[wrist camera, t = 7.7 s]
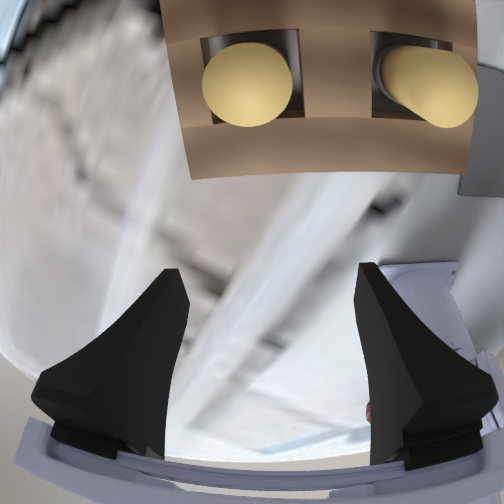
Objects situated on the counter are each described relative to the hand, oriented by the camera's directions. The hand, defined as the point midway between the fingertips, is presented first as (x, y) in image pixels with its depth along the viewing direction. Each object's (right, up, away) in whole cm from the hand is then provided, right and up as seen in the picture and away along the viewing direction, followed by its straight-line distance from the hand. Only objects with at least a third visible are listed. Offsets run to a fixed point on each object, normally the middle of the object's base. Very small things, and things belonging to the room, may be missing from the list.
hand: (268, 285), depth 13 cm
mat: (+19, +10, +4) cm, 22 cm away
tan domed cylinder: (0, +12, +4) cm, 13 cm away
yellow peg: (+8, +12, +3) cm, 15 cm away
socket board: (+4, +12, +3) cm, 13 cm away
